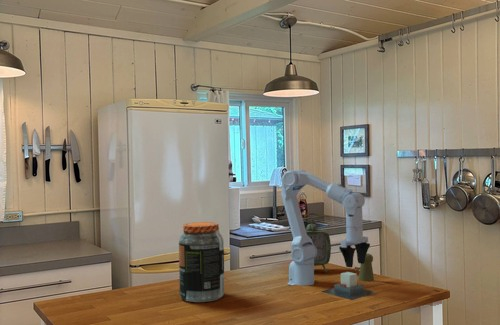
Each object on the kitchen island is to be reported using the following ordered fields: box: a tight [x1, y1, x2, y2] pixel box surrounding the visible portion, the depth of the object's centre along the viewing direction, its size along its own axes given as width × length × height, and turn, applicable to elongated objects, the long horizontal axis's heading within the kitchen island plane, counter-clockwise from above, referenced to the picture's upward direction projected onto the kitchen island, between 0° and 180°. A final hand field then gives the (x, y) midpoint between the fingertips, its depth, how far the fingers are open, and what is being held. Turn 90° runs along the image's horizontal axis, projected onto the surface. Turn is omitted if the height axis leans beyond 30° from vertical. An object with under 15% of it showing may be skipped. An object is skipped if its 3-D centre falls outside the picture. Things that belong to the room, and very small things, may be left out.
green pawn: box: [358, 252, 375, 282], centre depth 193 cm, size 6×6×11 cm
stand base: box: [320, 282, 378, 301], centre depth 176 cm, size 14×14×4 cm
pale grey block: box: [340, 271, 358, 288], centre depth 176 cm, size 4×4×6 cm
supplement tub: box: [178, 221, 225, 303], centre depth 174 cm, size 16×16×26 cm
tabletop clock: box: [303, 212, 332, 273], centre depth 211 cm, size 14×9×25 cm, turn 90°
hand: (355, 265), depth 176 cm, fingers open, 7 cm apart
